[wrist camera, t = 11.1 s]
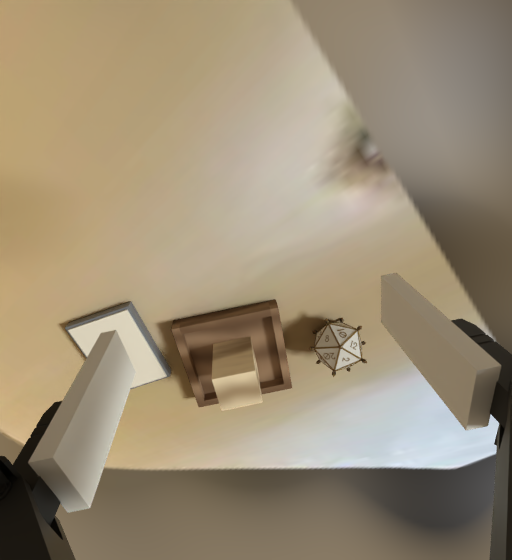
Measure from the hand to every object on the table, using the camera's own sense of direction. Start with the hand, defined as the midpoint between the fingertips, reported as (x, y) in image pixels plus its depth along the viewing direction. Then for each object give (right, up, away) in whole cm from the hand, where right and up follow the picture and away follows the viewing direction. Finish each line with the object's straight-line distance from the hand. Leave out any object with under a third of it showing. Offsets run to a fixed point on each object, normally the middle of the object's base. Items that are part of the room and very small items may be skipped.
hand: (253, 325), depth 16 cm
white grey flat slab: (-21, -8, +35) cm, 42 cm away
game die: (+12, -6, +38) cm, 40 cm away
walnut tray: (-3, -9, +37) cm, 38 cm away
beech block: (-3, -10, +36) cm, 38 cm away
